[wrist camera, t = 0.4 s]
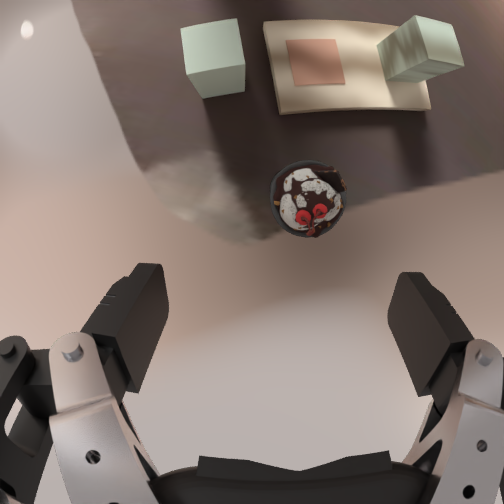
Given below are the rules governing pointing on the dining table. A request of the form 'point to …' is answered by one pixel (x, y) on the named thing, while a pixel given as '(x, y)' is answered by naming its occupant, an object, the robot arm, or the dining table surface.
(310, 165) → the sundae
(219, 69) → the green block
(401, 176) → the dining table surface
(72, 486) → the robot arm
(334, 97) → the board
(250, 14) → the dining table surface
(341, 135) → the dining table surface
